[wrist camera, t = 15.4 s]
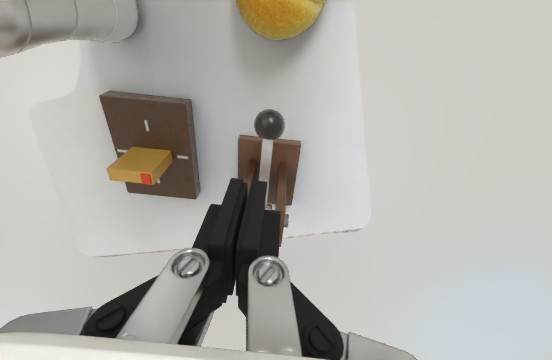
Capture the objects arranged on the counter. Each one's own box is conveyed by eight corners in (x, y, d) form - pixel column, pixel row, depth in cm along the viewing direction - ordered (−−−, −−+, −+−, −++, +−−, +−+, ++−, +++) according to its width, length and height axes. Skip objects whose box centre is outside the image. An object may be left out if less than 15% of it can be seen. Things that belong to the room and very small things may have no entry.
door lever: (256, 110, 28) (254, 105, 24) (285, 113, 28) (286, 108, 24) (246, 225, 29) (242, 233, 26) (274, 227, 29) (273, 237, 26)
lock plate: (109, 90, 30) (97, 95, 29) (191, 99, 30) (184, 104, 29) (135, 184, 38) (127, 193, 36) (200, 191, 38) (195, 200, 36)
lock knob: (135, 157, 33) (108, 181, 28) (132, 146, 32) (104, 169, 27) (173, 161, 33) (153, 186, 28) (171, 150, 32) (150, 174, 27)
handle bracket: (240, 134, 33) (217, 186, 23) (300, 141, 33) (304, 195, 23) (239, 195, 38) (221, 258, 28) (291, 200, 38) (291, 264, 29)
